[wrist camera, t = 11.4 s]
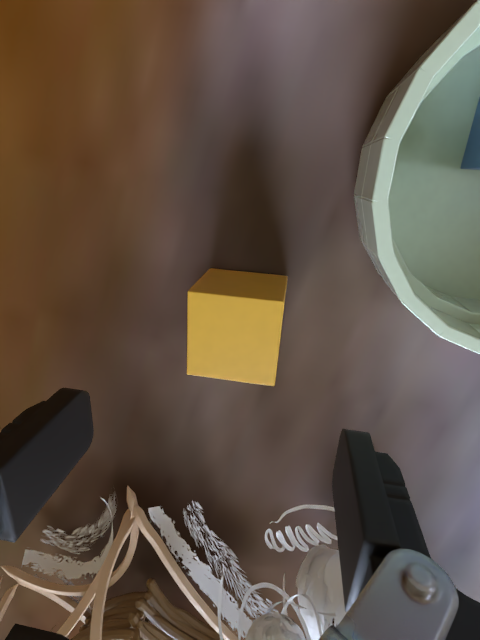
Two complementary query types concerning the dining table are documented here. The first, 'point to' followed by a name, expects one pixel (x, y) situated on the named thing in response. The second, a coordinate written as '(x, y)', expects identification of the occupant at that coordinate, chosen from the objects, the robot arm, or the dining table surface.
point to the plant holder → (184, 585)
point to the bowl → (428, 187)
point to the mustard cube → (235, 325)
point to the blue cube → (473, 144)
